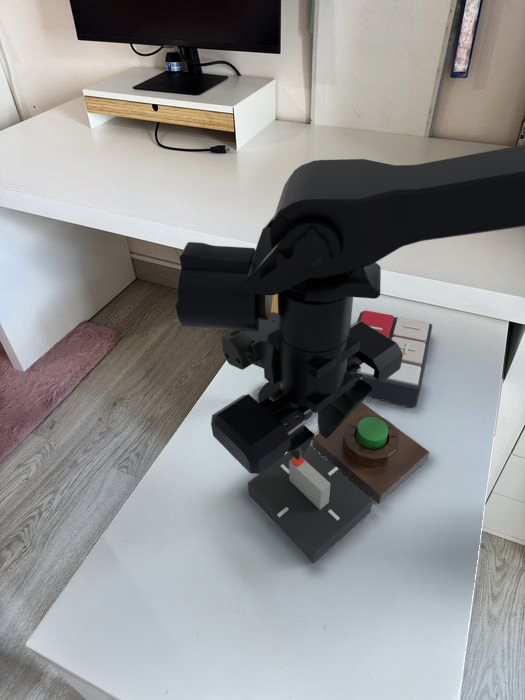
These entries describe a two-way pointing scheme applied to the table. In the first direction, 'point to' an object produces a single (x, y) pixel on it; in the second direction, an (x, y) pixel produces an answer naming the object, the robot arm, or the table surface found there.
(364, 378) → the calculator
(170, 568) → the table surface
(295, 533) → the panel
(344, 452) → the switch block
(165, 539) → the table surface
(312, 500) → the dimmer knob
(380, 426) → the power button
